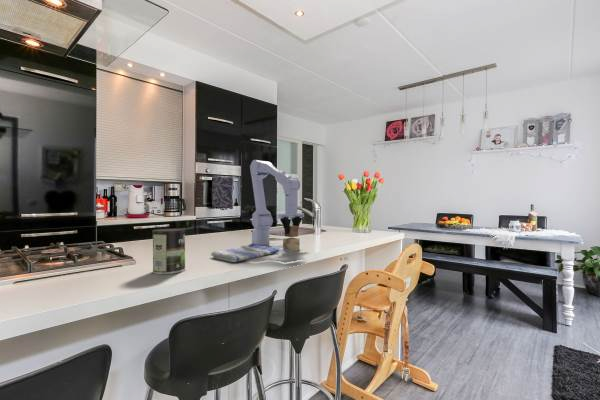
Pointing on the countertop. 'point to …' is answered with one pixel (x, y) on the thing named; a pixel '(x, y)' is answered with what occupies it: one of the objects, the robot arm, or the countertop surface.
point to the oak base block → (291, 243)
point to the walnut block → (292, 231)
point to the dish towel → (243, 253)
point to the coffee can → (168, 250)
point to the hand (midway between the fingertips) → (291, 233)
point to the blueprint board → (282, 249)
